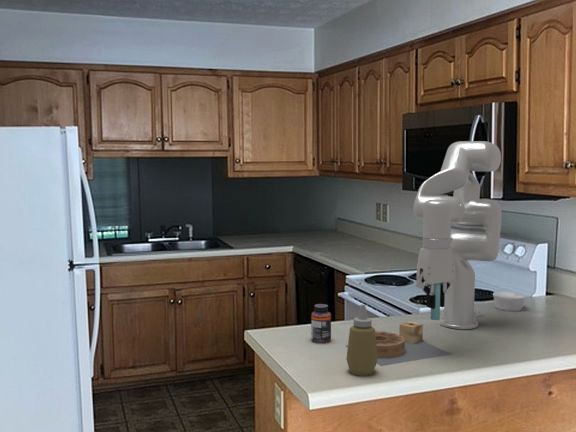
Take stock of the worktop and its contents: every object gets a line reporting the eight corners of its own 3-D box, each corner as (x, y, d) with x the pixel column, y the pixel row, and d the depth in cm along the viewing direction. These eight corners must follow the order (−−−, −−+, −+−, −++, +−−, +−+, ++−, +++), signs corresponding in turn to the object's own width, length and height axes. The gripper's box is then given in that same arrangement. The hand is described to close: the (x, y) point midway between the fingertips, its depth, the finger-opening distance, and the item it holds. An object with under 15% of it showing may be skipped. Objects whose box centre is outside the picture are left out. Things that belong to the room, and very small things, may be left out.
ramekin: (531, 311, 226) (531, 297, 226) (503, 313, 223) (504, 298, 223) (513, 304, 237) (513, 290, 236) (486, 305, 234) (487, 291, 234)
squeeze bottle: (355, 380, 156) (357, 310, 154) (340, 370, 164) (341, 303, 162) (383, 375, 159) (384, 307, 158) (367, 366, 167) (368, 300, 165)
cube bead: (408, 336, 192) (408, 320, 192) (422, 340, 189) (422, 324, 188) (399, 340, 189) (399, 323, 188) (413, 343, 185) (413, 327, 185)
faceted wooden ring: (385, 340, 188) (386, 329, 188) (413, 353, 176) (414, 341, 175) (345, 346, 182) (346, 334, 182) (371, 360, 170) (372, 348, 169)
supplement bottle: (320, 337, 192) (320, 301, 191) (335, 341, 188) (335, 305, 187) (307, 341, 188) (307, 305, 187) (321, 346, 184) (322, 308, 183)
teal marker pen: (435, 316, 179) (436, 269, 177) (442, 319, 177) (443, 271, 175) (428, 318, 178) (429, 270, 176) (434, 320, 176) (435, 272, 174)
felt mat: (411, 337, 193) (411, 336, 193) (452, 355, 176) (452, 353, 176) (345, 347, 183) (345, 345, 183) (381, 367, 166) (381, 365, 166)
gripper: (450, 238, 181) (449, 300, 184) (404, 243, 174) (404, 307, 177) (468, 243, 174) (466, 306, 177) (421, 248, 168) (420, 314, 170)
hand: (435, 306), depth 177 cm, fingers closed on teal marker pen, 2 cm apart
